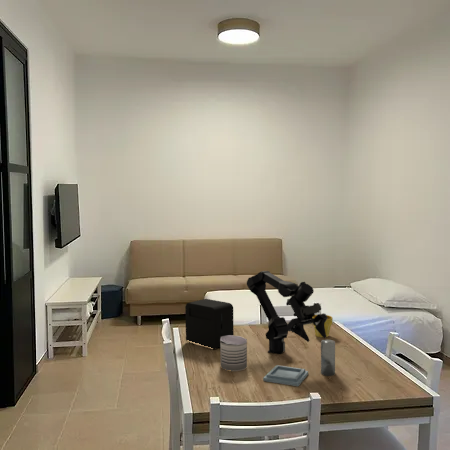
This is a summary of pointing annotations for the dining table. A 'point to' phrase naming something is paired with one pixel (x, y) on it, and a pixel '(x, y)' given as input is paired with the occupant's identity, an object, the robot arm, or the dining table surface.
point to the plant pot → (327, 326)
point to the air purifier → (208, 321)
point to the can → (233, 352)
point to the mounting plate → (286, 375)
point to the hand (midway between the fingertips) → (317, 339)
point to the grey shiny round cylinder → (328, 357)
